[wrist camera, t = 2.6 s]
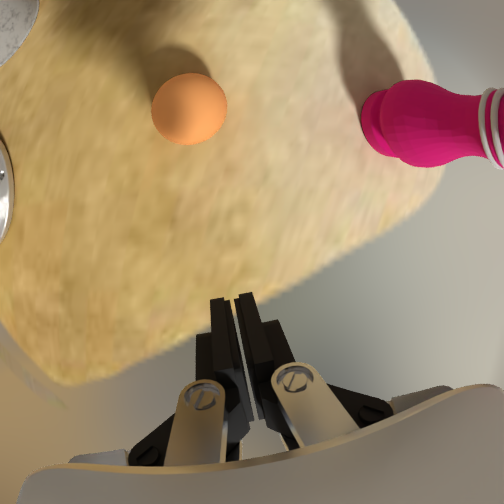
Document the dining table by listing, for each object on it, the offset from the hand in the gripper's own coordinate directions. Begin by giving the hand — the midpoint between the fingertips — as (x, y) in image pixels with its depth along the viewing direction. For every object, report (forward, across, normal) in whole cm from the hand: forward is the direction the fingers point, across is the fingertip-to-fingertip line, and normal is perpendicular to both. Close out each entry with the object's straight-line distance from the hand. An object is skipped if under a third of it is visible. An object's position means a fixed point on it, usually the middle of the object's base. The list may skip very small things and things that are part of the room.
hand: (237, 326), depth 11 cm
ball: (+10, +1, -10) cm, 14 cm away
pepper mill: (+13, -16, -8) cm, 22 cm away
